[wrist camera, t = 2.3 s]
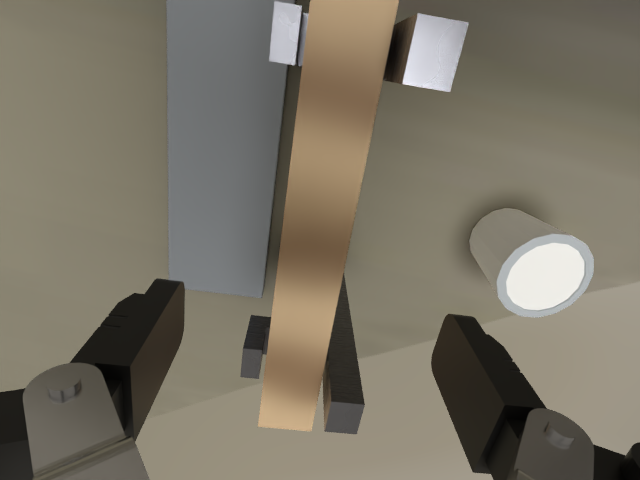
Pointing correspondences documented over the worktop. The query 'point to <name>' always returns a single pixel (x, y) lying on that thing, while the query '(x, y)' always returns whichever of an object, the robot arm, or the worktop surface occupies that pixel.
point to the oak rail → (322, 197)
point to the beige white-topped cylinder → (530, 262)
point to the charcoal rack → (341, 361)
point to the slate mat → (222, 142)
